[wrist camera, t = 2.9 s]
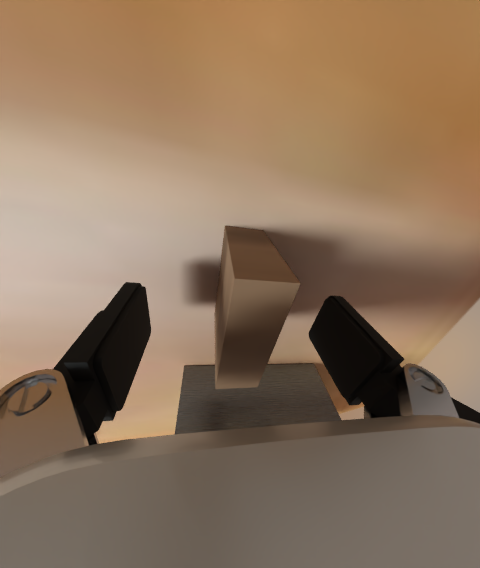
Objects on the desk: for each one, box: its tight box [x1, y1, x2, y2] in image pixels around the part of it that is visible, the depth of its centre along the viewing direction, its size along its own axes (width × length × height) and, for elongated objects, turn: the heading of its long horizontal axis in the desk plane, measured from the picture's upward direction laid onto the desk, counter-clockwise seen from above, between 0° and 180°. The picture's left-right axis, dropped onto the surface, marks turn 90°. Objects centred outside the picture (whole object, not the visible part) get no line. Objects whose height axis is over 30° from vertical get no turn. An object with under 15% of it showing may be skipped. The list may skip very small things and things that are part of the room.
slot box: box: [175, 364, 341, 434], centre depth 15 cm, size 12×12×10 cm
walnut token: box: [215, 226, 301, 389], centre depth 9 cm, size 6×2×5 cm, turn 171°
